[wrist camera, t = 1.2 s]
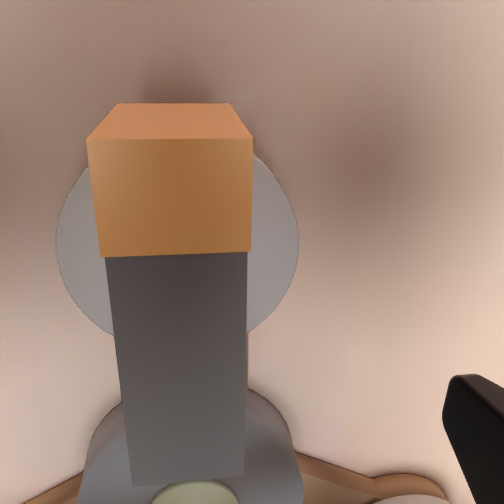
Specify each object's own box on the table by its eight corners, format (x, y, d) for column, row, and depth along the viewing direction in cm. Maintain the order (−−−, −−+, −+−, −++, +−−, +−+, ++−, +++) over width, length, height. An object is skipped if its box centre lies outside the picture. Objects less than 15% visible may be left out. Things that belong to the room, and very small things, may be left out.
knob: (285, 342, 16) (328, 471, 11) (82, 355, 15) (39, 499, 10) (299, 98, 13) (366, 137, 8) (42, 97, 12) (-48, 140, 7)
